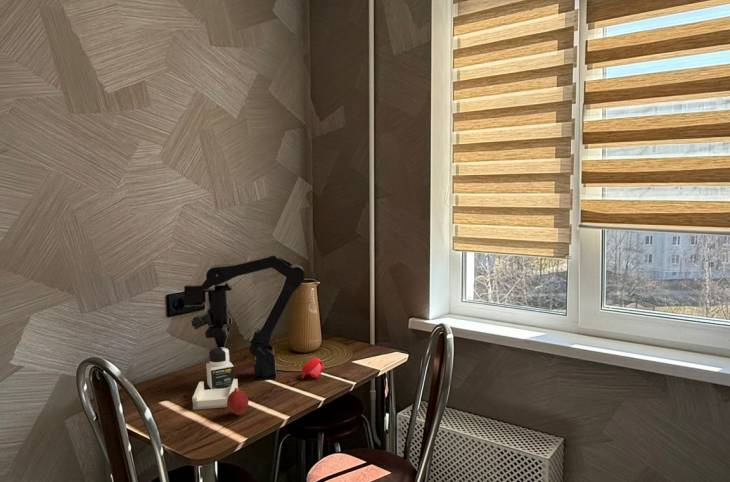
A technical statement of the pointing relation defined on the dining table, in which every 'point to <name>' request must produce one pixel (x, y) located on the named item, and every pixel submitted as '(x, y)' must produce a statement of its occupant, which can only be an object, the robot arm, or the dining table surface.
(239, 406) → the red rounded lump
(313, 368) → the cap
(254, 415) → the dining table surface
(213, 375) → the medicine bottle
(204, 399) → the cradle
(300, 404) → the dining table surface
